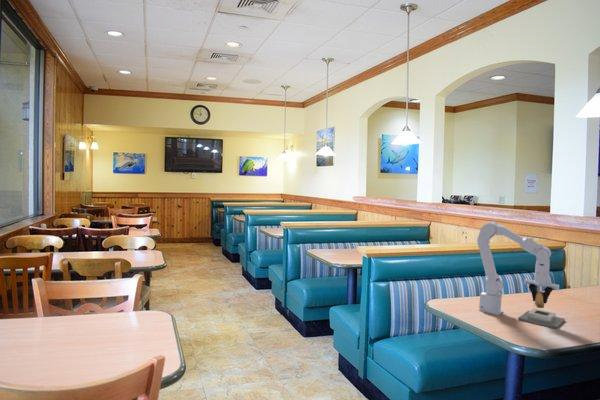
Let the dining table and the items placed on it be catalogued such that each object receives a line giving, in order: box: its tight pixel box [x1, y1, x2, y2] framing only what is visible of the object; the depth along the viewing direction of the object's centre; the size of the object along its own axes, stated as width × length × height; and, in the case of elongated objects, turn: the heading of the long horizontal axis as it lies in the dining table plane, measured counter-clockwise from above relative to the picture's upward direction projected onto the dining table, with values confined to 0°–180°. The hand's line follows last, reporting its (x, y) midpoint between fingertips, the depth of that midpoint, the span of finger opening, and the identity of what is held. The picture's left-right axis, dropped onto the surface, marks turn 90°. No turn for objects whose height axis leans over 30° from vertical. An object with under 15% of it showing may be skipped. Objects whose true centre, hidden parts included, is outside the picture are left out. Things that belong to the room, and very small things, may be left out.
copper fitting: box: [533, 290, 545, 309], centre depth 212 cm, size 4×4×7 cm
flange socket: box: [517, 308, 566, 330], centre depth 213 cm, size 16×16×4 cm
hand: (539, 301), depth 212 cm, fingers closed on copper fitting, 4 cm apart
